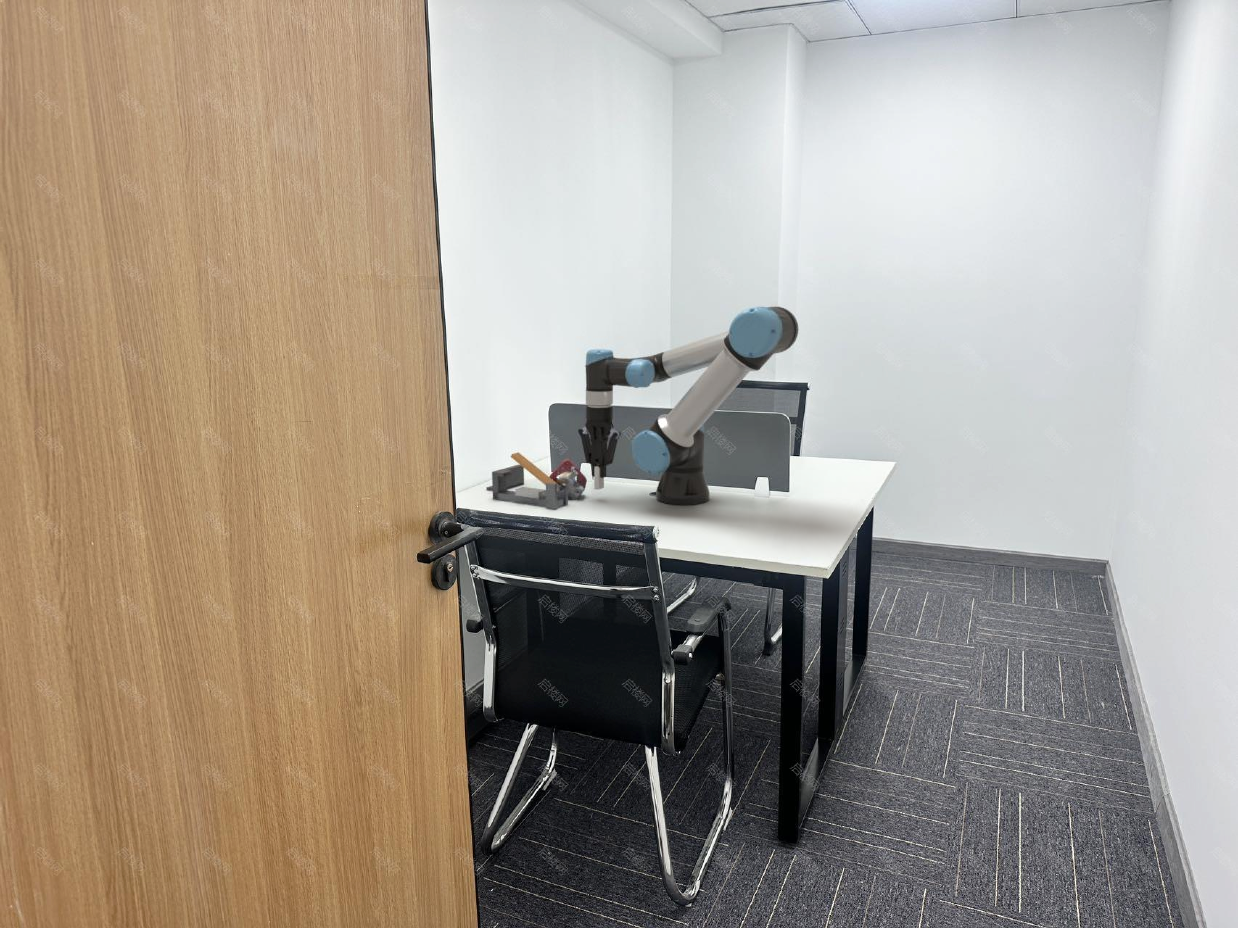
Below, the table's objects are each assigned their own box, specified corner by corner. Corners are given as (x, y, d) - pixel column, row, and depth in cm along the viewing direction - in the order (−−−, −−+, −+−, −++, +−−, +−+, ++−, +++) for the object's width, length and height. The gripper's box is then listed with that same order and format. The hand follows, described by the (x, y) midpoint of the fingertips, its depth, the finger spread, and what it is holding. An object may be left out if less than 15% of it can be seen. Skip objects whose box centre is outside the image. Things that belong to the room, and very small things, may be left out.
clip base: (568, 504, 234) (567, 476, 232) (555, 509, 228) (554, 480, 227) (504, 495, 245) (503, 468, 243) (490, 499, 240) (489, 472, 238)
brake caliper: (591, 483, 249) (586, 456, 240) (586, 513, 242) (580, 486, 233) (553, 482, 250) (547, 455, 241) (547, 511, 243) (540, 485, 234)
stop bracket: (524, 484, 259) (523, 465, 258) (499, 492, 249) (498, 472, 248) (511, 482, 262) (510, 463, 261) (486, 490, 252) (485, 470, 251)
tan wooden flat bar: (561, 491, 232) (563, 487, 232) (554, 493, 229) (556, 489, 229) (517, 455, 238) (518, 451, 237) (510, 457, 235) (512, 453, 235)
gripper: (626, 405, 233) (625, 488, 238) (586, 402, 240) (587, 483, 245) (612, 409, 227) (611, 494, 232) (572, 405, 233) (572, 488, 238)
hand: (599, 488), depth 238 cm, fingers closed
